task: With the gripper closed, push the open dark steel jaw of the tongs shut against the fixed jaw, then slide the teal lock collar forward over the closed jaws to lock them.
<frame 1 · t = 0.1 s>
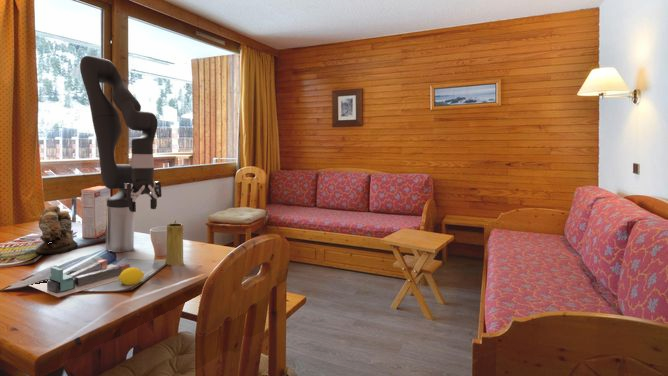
hand: (143, 210, 147), 17 cm above the table, tool pointing down, fingers open, 8 cm apart
lock collar: (61, 277, 111), point 4 cm above the table, slide at 0.0 cm
tongs base: (70, 286, 114), resting on mat
green pillar candle: (174, 264, 141), on the table
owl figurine: (57, 249, 150), on the table
mat: (88, 280, 121), on the table
cracker box: (96, 235, 175), on the table
jaw: (88, 270, 123), point 2 cm above the table, hinge at 25.0°
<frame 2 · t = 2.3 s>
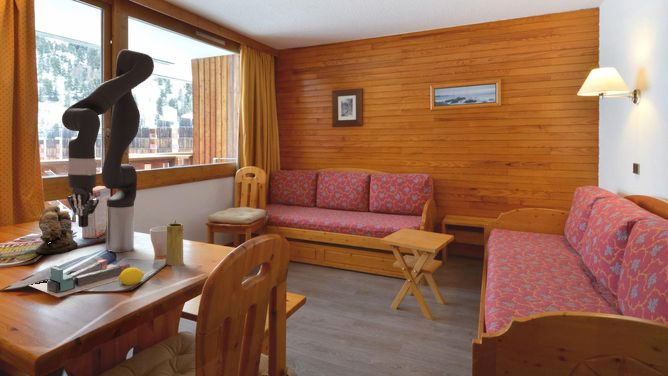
hand: (83, 226, 127), 15 cm above the table, tool pointing down, fingers closed
nothing on the table moved.
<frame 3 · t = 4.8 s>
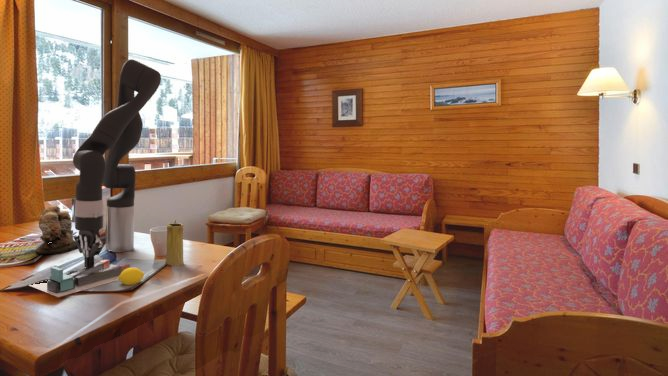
hand: (89, 267, 126), 2 cm above the table, tool pointing down, fingers closed
jaw: (90, 271, 123), point 2 cm above the table, hinge at 22.1°, touching gripper
everything else where it was.
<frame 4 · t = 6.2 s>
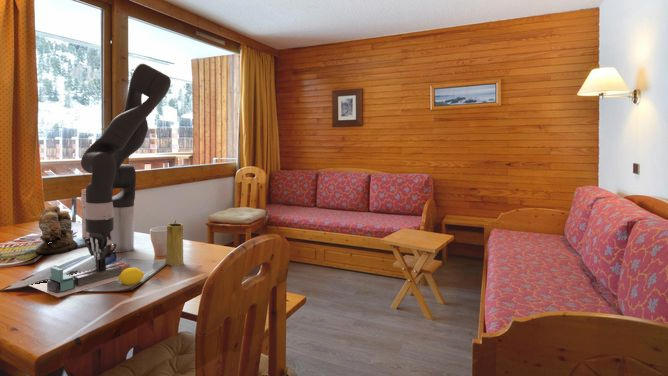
hand: (100, 269, 125), 2 cm above the table, tool pointing down, fingers closed
jaw: (98, 272, 122), point 2 cm above the table, hinge at 0.2°, touching gripper
everything else where it was.
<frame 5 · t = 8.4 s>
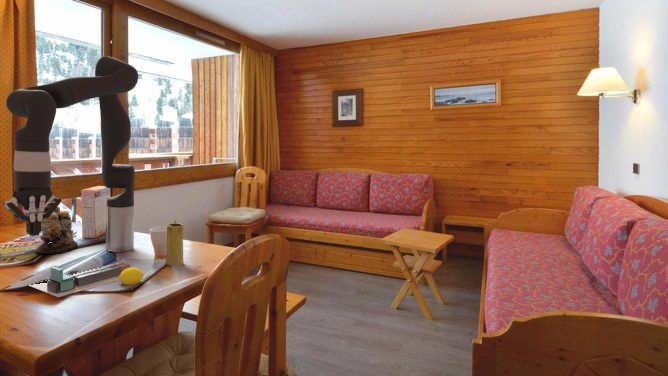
hand: (34, 235, 104), 17 cm above the table, tool pointing down, fingers closed
jaw: (99, 272, 122), point 2 cm above the table, hinge at 0.0°
everything else where it was.
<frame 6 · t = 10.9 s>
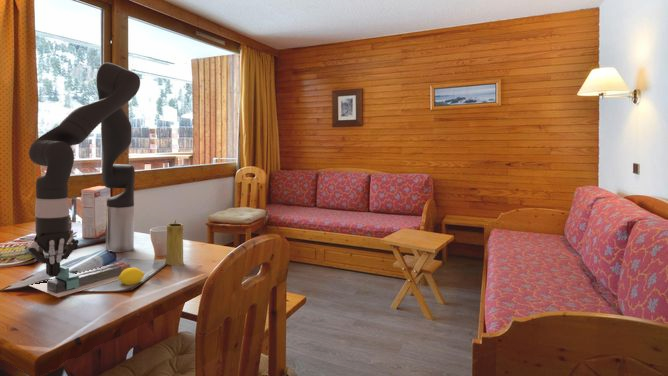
hand: (53, 275, 110), 5 cm above the table, tool pointing down, fingers closed
lock collar: (67, 276, 113), point 4 cm above the table, slide at 1.6 cm, touching gripper
everything else where it was.
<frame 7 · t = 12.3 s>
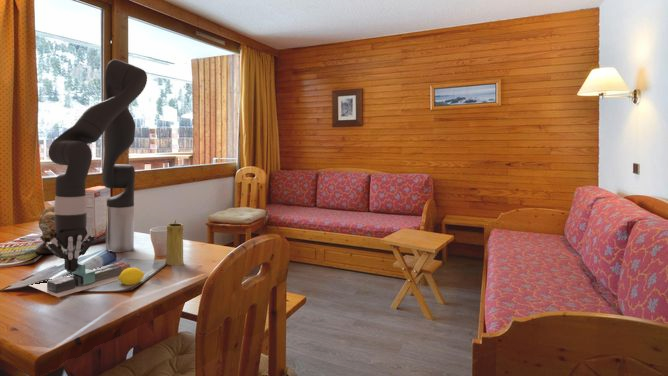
hand: (71, 271, 114), 5 cm above the table, tool pointing down, fingers closed
lock collar: (83, 271, 117), point 4 cm above the table, slide at 6.1 cm, touching gripper
everything else where it was.
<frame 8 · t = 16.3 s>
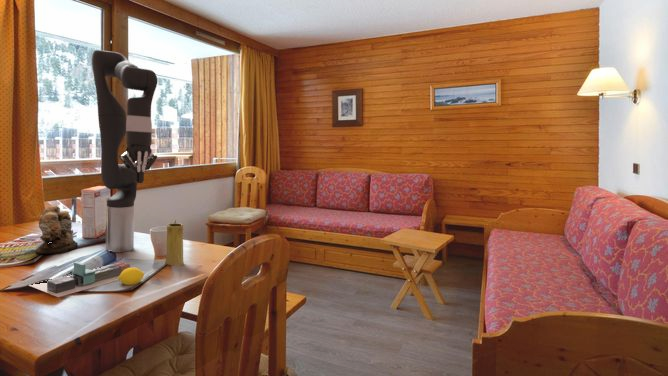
hand: (138, 183, 132), 29 cm above the table, tool pointing down, fingers closed
lock collar: (83, 271, 117), point 4 cm above the table, slide at 6.1 cm
everything else where it was.
at the end: jaw at +0° (first picture: +25°); lock collar slide at 6.1 cm; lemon moved 0.3 cm from its start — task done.
